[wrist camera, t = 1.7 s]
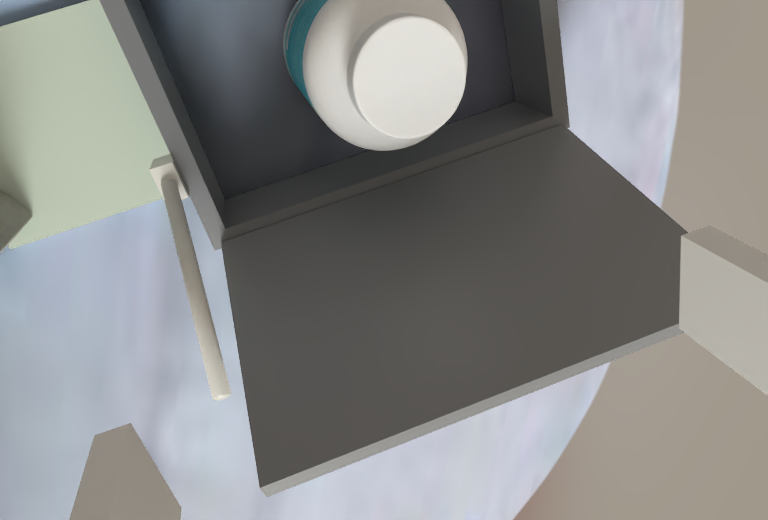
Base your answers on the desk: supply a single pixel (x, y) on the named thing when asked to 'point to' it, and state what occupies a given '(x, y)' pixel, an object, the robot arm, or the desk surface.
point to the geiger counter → (11, 219)
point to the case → (416, 265)
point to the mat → (72, 122)
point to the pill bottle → (377, 67)
